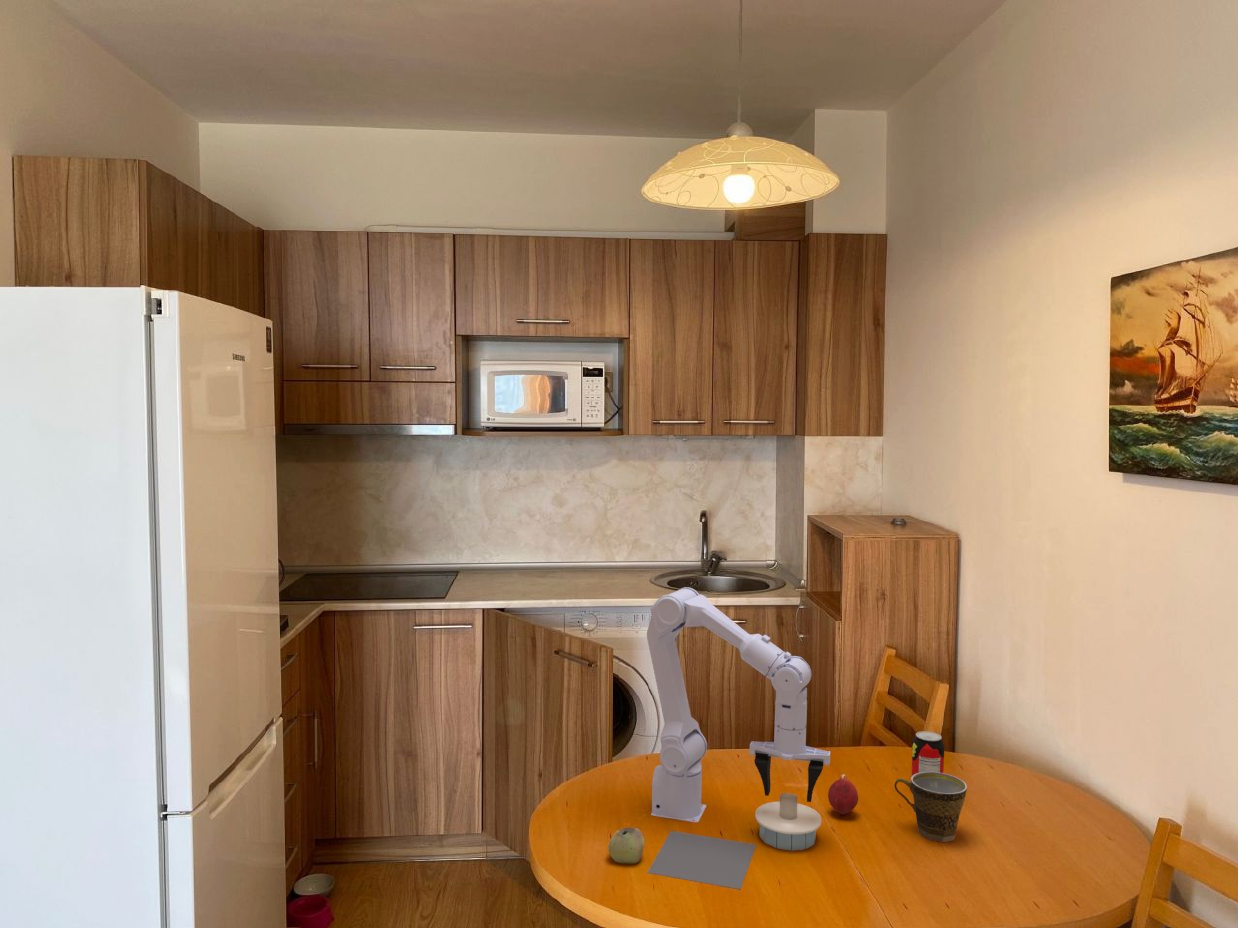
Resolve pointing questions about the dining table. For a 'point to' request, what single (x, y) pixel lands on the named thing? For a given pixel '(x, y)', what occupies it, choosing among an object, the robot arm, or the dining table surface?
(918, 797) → the ceramic cup
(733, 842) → the mat
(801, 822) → the lid
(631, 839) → the apple
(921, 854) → the dining table surface
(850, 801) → the onion
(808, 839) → the bowl
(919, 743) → the beverage can
